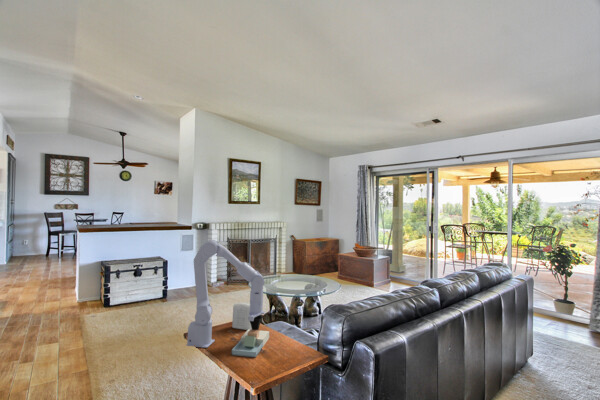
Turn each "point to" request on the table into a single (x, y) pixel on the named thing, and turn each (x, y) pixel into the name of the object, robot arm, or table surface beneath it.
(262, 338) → the cream square block
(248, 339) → the sage tile
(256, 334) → the terracotta tile
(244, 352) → the box
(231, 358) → the table surface
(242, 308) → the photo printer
